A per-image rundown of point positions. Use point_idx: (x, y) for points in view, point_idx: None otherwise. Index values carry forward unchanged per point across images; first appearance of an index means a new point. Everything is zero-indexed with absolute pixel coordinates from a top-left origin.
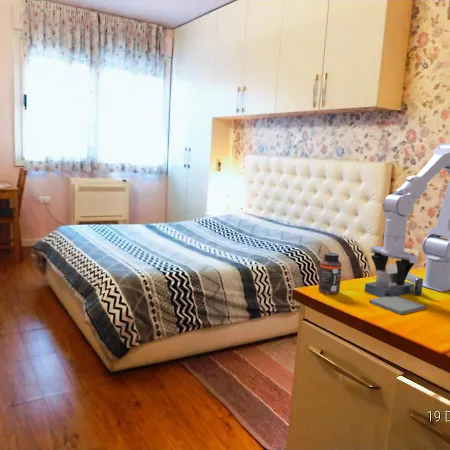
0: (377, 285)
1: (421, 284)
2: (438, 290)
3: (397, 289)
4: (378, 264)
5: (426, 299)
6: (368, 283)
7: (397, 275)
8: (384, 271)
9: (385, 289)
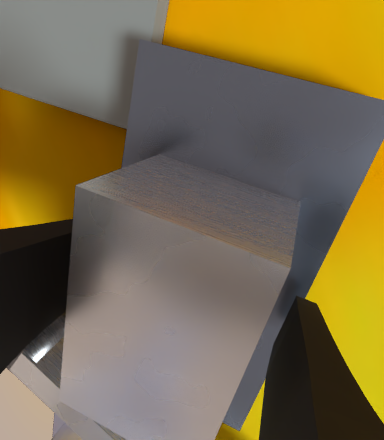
0: (258, 139)
1: None
2: None
3: None
4: (311, 425)
5: None
6: (368, 140)
7: (45, 239)
8: (179, 266)
9: (148, 63)
